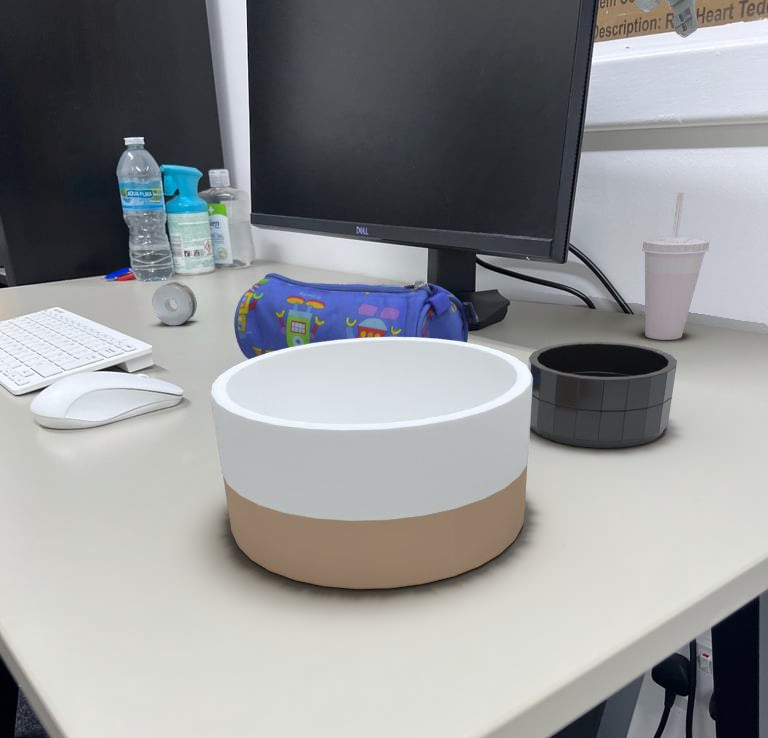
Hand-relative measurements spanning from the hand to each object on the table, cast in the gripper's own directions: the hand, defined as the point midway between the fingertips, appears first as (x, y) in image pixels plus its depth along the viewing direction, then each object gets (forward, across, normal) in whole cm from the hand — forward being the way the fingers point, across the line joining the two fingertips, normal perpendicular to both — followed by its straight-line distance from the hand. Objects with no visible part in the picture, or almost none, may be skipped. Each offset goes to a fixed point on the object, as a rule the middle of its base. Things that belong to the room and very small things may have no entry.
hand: (670, 20), depth 68 cm
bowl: (+36, -47, +10) cm, 60 cm away
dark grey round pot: (+34, -26, +5) cm, 44 cm away
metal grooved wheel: (+6, -23, +59) cm, 63 cm away
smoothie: (+28, +2, +10) cm, 29 cm away
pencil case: (+24, -28, +26) cm, 46 cm away
